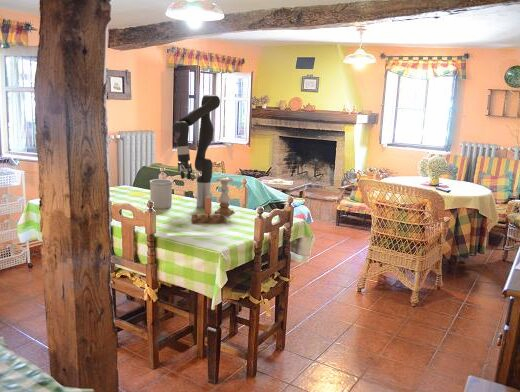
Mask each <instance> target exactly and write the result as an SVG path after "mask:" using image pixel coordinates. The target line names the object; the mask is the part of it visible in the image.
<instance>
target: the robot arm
mask: <svg viewBox="0 0 520 392" xmlns="http://www.w3.org/2000/svg"><path fill="white" fill-rule="evenodd" d="M200 103H201V104H200V105H201V106H200V107H197V108H195V109H193V110H191V111H190V112H189V113H187V114H186V115H185V116H183V117H180V119H178V120H176V121H175V122H173V125H172V131H173V132H174V133H176V134H179V135H178V137H177V138H176V147H177V148H176V154H177V161H178V162H177V170H178V172H179V173H180V179H181V180H183V179H185V173H186V178H187V180H191V179H192V176H191V174H192V173H193V166H192V163H191V162H189V161H191V156H190V148H189V140H188V139H189V131H190V127H191V126H193V125H194V124H195V123H197V121H199V120H200V126H199V133H198V143H197V150H196V154H195V155H196V156H195V160H194V168H195V170H196V171H197V172H201V175H200V176H198V177H197V178H196V208H199V209H200V208H201V209H205V197H211V198H212V196H213V195H212V194H213V193H212V191H211V187H212V186H211V185H212V183H211V181H212V178H213V177H212V176H213V162H212V160H211V159H210V158H206V153H207V150H208V148H209V147H210V146H211V144H212V141H213V139H214V130H215V129H214V125H213V123H212V120H211V112H212V111H214V110H216V109H218V108H219V106H220V104H221V99H220V97H219V96H218V95H215V94H205V95H203V97H202V98H201V102H200Z"/></svg>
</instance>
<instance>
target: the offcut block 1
mask: <svg viewBox="0 0 520 392" xmlns="http://www.w3.org/2000/svg"><path fill="white" fill-rule="evenodd" d="M197 218H208V214H205V213H197Z"/></svg>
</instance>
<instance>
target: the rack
mask: <svg viewBox="0 0 520 392" xmlns="http://www.w3.org/2000/svg"><path fill="white" fill-rule="evenodd" d="M197 214H198V213H197ZM197 214H191V218H190V221H191V225H196V224H197V225H200V224H201V225H203V224H205V225H206V224H209V225H210V224H211V225H212V224H215V225H216V224H227V222H226V217H225V216H224V214H220V218H209V216H208V218H197Z"/></svg>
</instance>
